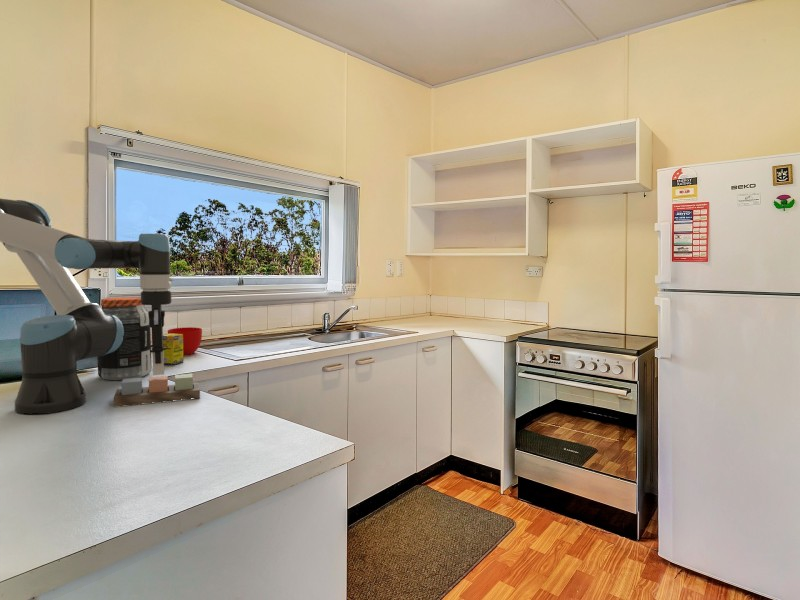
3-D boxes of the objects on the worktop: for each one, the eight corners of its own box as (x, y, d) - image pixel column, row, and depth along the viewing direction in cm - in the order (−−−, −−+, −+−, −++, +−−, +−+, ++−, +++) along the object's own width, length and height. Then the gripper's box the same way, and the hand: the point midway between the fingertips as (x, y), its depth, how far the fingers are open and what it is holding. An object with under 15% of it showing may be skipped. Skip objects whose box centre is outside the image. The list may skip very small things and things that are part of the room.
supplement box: (173, 365, 178) (173, 336, 177) (159, 364, 179) (158, 335, 178) (184, 362, 183) (183, 333, 183) (170, 361, 185) (169, 333, 184)
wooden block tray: (198, 390, 144) (198, 382, 144) (199, 398, 136) (199, 390, 136) (117, 398, 136) (117, 389, 135) (113, 407, 128) (113, 397, 127)
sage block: (192, 385, 142) (192, 373, 141) (193, 389, 137) (192, 377, 137) (175, 386, 140) (174, 375, 139) (175, 390, 135) (174, 378, 135)
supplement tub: (162, 372, 166) (160, 297, 164) (122, 383, 152) (119, 301, 150) (128, 368, 172) (125, 296, 170) (86, 378, 157) (82, 299, 155)
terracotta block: (167, 387, 139) (167, 375, 139) (167, 391, 135) (167, 379, 134) (149, 389, 137) (149, 377, 137) (148, 393, 133) (148, 380, 132)
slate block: (142, 389, 136) (141, 377, 136) (141, 394, 132) (140, 381, 132) (123, 391, 134) (123, 379, 134) (121, 395, 130) (121, 382, 130)
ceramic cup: (154, 357, 192) (153, 332, 191) (181, 349, 208) (180, 326, 208) (184, 359, 190) (183, 333, 189) (208, 351, 206) (208, 328, 205)
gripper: (170, 291, 129) (173, 378, 131) (171, 288, 141) (173, 368, 143) (138, 291, 126) (141, 380, 128) (142, 289, 138) (145, 370, 140)
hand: (158, 374), depth 135 cm, fingers closed
